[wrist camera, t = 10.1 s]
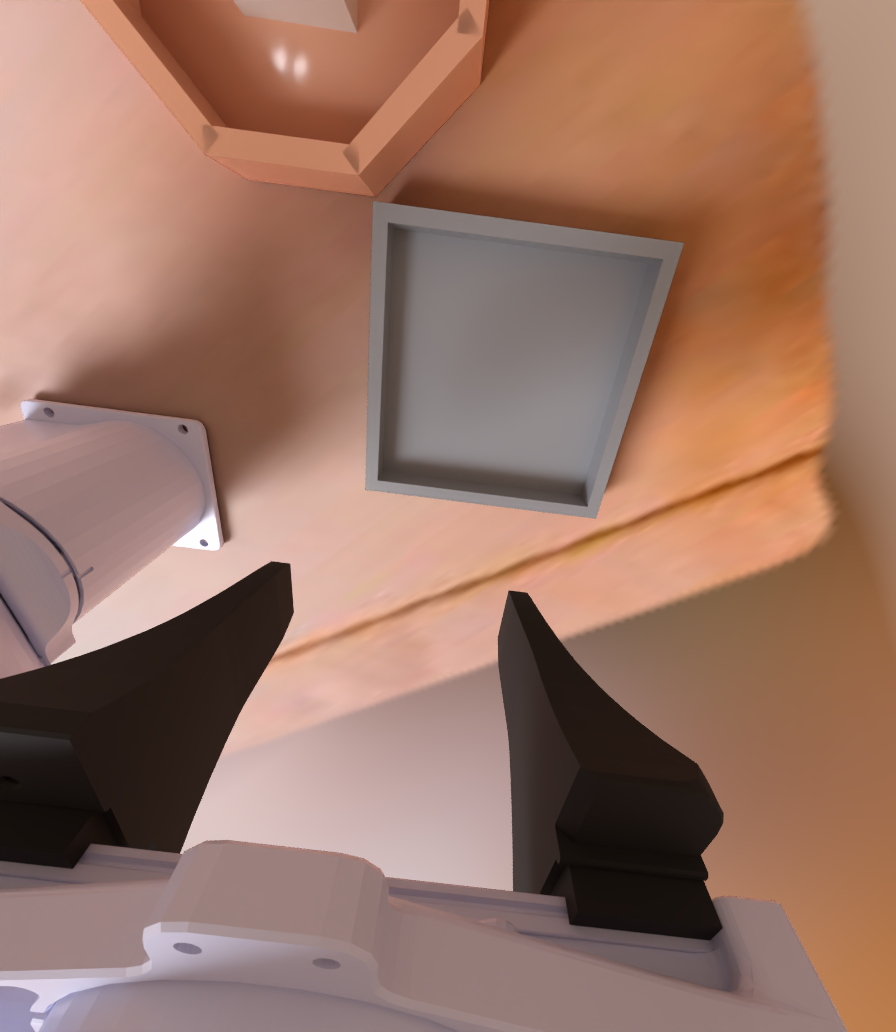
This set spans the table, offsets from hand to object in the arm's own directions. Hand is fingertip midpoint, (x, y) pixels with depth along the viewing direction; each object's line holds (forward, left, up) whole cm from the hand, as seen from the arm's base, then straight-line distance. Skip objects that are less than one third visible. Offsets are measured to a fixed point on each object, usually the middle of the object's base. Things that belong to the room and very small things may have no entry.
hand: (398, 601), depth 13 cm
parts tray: (+3, +6, -10) cm, 12 cm away
